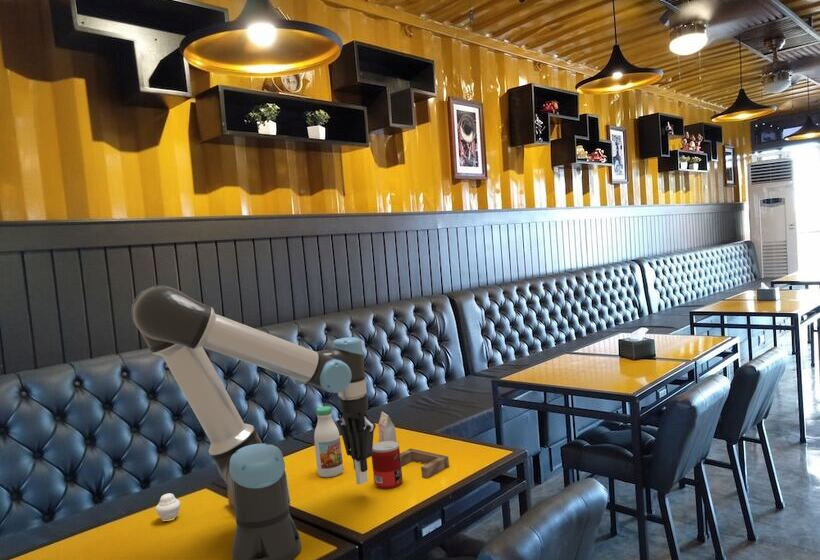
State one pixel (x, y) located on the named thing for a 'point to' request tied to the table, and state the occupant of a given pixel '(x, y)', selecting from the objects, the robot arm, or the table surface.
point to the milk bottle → (327, 444)
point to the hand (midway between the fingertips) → (362, 482)
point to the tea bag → (386, 428)
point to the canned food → (386, 464)
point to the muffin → (168, 507)
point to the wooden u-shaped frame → (425, 461)
